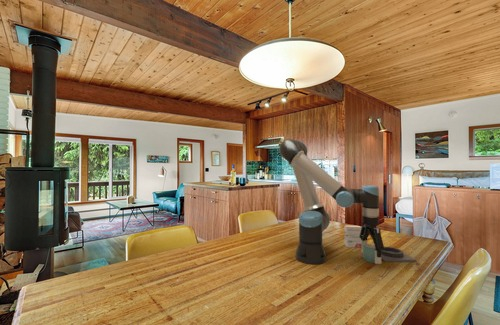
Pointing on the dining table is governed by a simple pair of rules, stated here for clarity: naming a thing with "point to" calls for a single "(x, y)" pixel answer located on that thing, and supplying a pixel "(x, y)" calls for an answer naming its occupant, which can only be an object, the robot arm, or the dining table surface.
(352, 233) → the ink box
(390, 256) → the square plate with ring
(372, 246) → the cap
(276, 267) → the dining table surface
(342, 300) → the dining table surface
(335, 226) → the dining table surface
